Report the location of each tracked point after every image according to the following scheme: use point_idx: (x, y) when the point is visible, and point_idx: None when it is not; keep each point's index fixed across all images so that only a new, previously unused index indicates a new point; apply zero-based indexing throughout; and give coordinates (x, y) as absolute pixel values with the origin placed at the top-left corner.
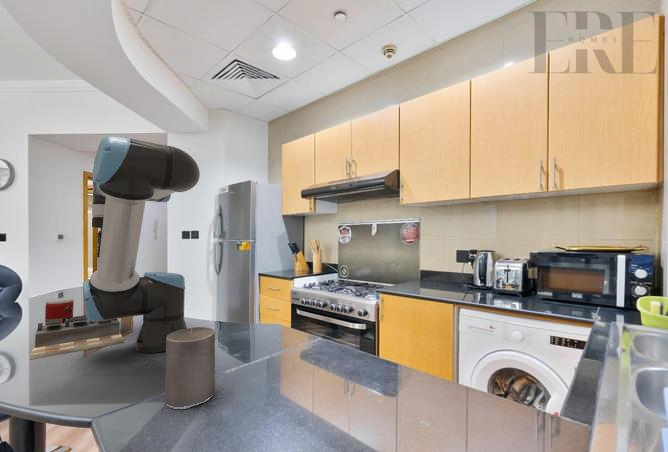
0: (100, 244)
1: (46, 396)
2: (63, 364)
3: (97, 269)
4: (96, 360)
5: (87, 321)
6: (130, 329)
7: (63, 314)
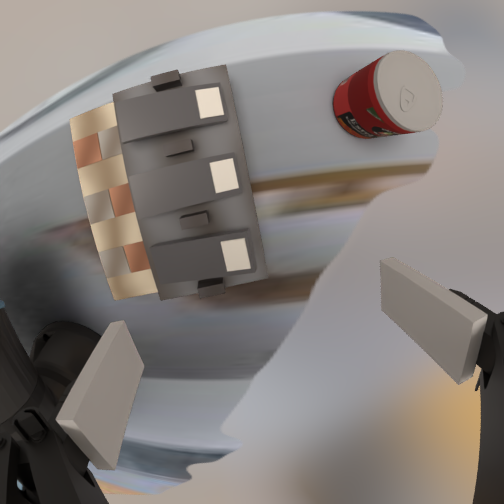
0: (500, 501)
1: None
2: (20, 202)
3: (405, 277)
4: (23, 257)
5: (228, 198)
6: (253, 300)
7: (357, 109)
